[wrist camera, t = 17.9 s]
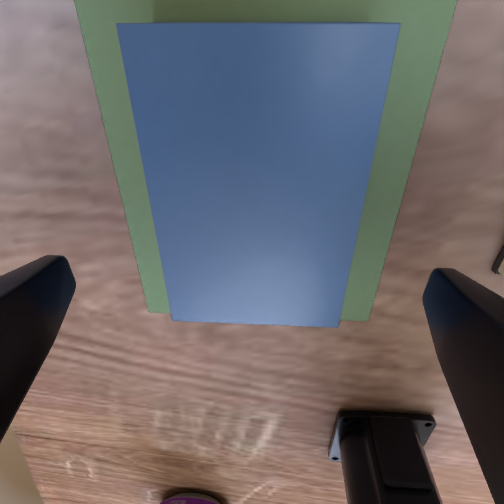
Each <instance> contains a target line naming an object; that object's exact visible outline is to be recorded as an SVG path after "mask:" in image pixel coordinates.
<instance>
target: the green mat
mask: <svg viewBox="0 0 504 504" xmlns="http://www.w3.org/2000/svg"><path fill="white" fill-rule="evenodd" d="M74 2H75V6H76V10H77V15H78V19H79V23H80V27H81V31H82V35H83V40H84V44H85V48H86V52H87V56H88V61H89V65H90V69H91V73H92V77H93V81H94V86H95V90H96V94H97V98H98V102H99V107H100V111H101V115H102V119H103V123H104V127H105V132H106V136H107V140H108V144H109V148H110V152H111V157H112V161H113V165H114V169H115V173H116V178H117V182H118V186H119V190H120V194H121V198H122V203H123V207H124V211H125V215H126V219H127V223H128V228H129V232H130V236H131V240H132V244H133V249H134V253H135V257H136V261H137V265H138V269H139V274H140V278H141V282H142V286H143V290H144V295H145V299H146V303H147V307H148V311H149V312H154V313H171V311H170V306H169V301H168V295H167V290H166V285H165V280H164V274H163V269H162V264H161V259H160V253H159V248H158V243H157V238H156V232H155V227H154V222H153V217H152V211H151V206H150V201H149V196H148V191H147V185H146V180H145V175H144V170H143V164H142V159H141V154H140V149H139V143H138V138H137V133H136V128H135V122H134V117H133V112H132V107H131V101H130V96H129V91H128V86H127V80H126V75H125V70H124V65H123V60H122V54H121V49H120V44H119V39H118V33H117V28H116V23H151V22H392V23H401V26H400V31H399V36H398V41H397V45H396V50H395V55H394V60H393V65H392V70H391V74H390V79H389V84H388V89H387V94H386V99H385V103H384V108H383V113H382V118H381V123H380V128H379V132H378V137H377V142H376V147H375V152H374V157H373V162H372V166H371V171H370V176H369V181H368V186H367V191H366V195H365V200H364V205H363V210H362V215H361V220H360V224H359V229H358V234H357V239H356V244H355V249H354V253H353V258H352V263H351V268H350V273H349V278H348V283H347V287H346V292H345V297H344V302H343V307H342V312H341V316H340V320H347V321H368V320H369V316H370V313H371V309H372V305H373V302H374V298H375V295H376V291H377V287H378V284H379V280H380V277H381V273H382V269H383V266H384V262H385V259H386V255H387V251H388V248H389V244H390V241H391V237H392V233H393V230H394V226H395V223H396V219H397V215H398V212H399V208H400V205H401V201H402V197H403V194H404V190H405V187H406V183H407V179H408V176H409V172H410V169H411V165H412V161H413V158H414V154H415V151H416V147H417V143H418V140H419V136H420V133H421V129H422V125H423V122H424V118H425V115H426V111H427V107H428V104H429V100H430V97H431V93H432V89H433V86H434V82H435V79H436V75H437V71H438V68H439V64H440V61H441V57H442V53H443V50H444V46H445V43H446V39H447V35H448V32H449V28H450V25H451V21H452V17H453V14H454V10H455V7H456V3H457V0H74Z"/></svg>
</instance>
